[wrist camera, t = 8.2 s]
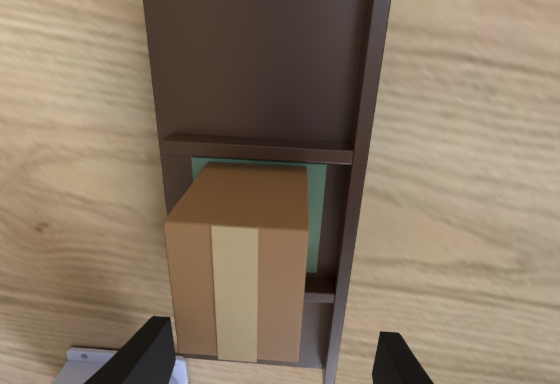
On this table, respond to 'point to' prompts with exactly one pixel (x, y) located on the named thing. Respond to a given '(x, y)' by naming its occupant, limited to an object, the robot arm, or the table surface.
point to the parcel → (240, 261)
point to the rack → (276, 120)
